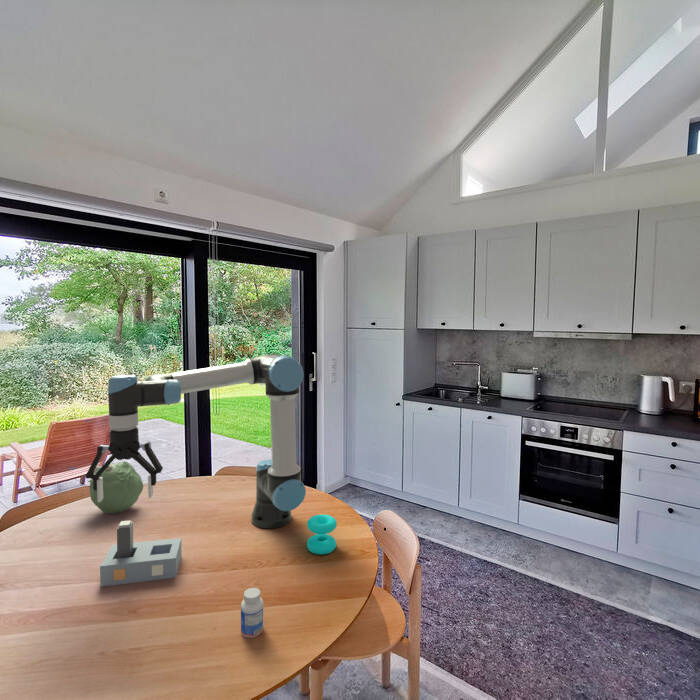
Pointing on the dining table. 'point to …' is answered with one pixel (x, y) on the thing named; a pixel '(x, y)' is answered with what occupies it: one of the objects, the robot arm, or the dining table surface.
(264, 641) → the dining table surface
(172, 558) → the socket block
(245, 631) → the pill bottle
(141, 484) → the cabbage
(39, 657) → the dining table surface
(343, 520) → the dining table surface
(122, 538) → the plug
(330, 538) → the turquoise spool
